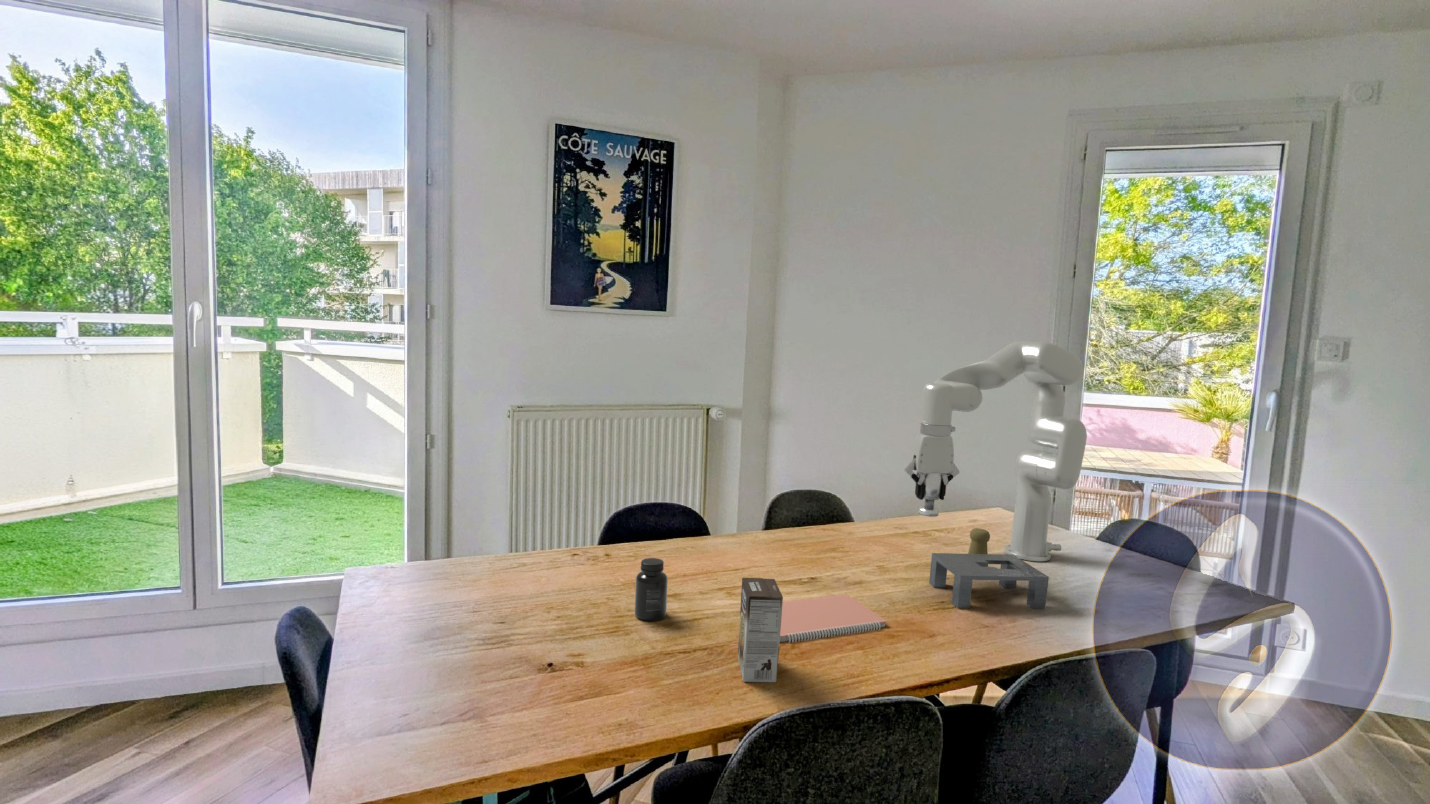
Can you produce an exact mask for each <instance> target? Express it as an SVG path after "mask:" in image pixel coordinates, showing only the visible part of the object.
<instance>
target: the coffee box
mask: <svg viewBox="0 0 1430 804" xmlns="http://www.w3.org/2000/svg"><path fill="white" fill-rule="evenodd" d="M783 602H784V597H783V595H782V591H781V590H780V588H779V586H778V583H777V581H776V579H775V578H764V577H763V578H762V577H742V578H741V595H740V609H739V610H740V611H739V614H740V615H739V627H738V629H739V630H738V646H737V647H738V648H737V662H738V665H739V670H740V674H741V678H742V682H744V683H745V682H746V683H776V682H777V679H778V668H779V667H778V666H779V665H778V664H779V653H780V643H781V642H780V631H781V618H782V604H783Z"/></svg>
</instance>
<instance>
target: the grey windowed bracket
mask: <svg viewBox="0 0 1430 804" xmlns="http://www.w3.org/2000/svg"><path fill="white" fill-rule="evenodd" d="M930 559H931V560H930V568H929V569H930V571H929V581H928V583H929V585H931V586H932V588H934V589H937V588H938V589H939V588H941V589H942V588H943V589H944V588H945V589H946V584H947V574H948V571H949V572H950V573H951V574H952V575H954V576H953V577H954V578H953V587H952V598H951V605H953V606H954V607H955V606H956V607H957V608H956V607H955V608H956V609H959V610H960V608H961V609H962V610H963V609H965V610H967V609H969V610H970V608H971V597H972V588H973V581H998V585H999V586H1001V587H1002V588H1004V589H1005V590H1007V589H1009V590H1010V589H1011V590H1012V589H1013V590H1016V589H1017V582H1018V581H1020V582H1021V581H1022V582H1023V581H1026V582H1027V581H1028V587H1027V593H1026V594H1027V595H1026V606H1028V607H1029V608H1031V609H1033V610H1046V604H1047V598H1048V596H1047V595H1048V589H1049V586H1048V585H1049V579H1050V578H1049V576H1048V575H1047V574H1045V573H1043V572H1042V571H1040V570H1038V569H1037V568H1035V567H1034V566H1032V565H1031V564H1028V563H1027V562H1026V561H1025V560H1023V559H1019V558H1018V557H1016V556H1014V555H1008V554H1007V553H1006V554H1005V553H1004V554H1003V553H1002V554H1000V553H997V554H995V553H988V554H968V553H954V552H953V553H949V552H947V553H946V552H944V553H943V552H941V553H940V552H938V553H937V552H932V553H931V558H930ZM989 565H1000V568H999V569H998V568H997V567H995V566H989ZM981 566H988V567H981Z"/></svg>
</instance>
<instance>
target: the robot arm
mask: <svg viewBox="0 0 1430 804" xmlns="http://www.w3.org/2000/svg"><path fill="white" fill-rule="evenodd" d="M1021 374H1023V376H1024V378H1025V379H1026V380H1027V381H1028V383H1029V385H1030V387H1031V390H1032V395H1033V396H1032V399H1033V400H1032V405H1031V410H1030V416H1029V421H1028V426H1027V439H1028V440H1029V441H1030V442H1031V443H1032V444H1034V445H1037V446H1041V447H1045V448H1050V449H1055V450H1057V452H1058V453H1054V452H1051V451H1046V450H1039V449H1032V448H1031V449H1026V450H1023V451H1021V452H1020V453H1019V454H1018V455H1017V456H1016V460H1015V474H1016V475H1015V476H1016V490H1015V491H1016V492H1015V501H1014V513H1013V519H1012V520H1013V521H1012V527H1011V528H1012V531H1011V539H1010V544H1008V545H1005V546H1004V552H1005V553H1006V554H1008V555H1014V556H1016V557H1018V558H1019V559H1021V560H1022V561H1029V562H1046V561H1048V562H1049V560H1051V557H1052V554H1051V553H1050V552H1052V551H1056V552H1057V551H1058V552H1059V551H1062V549H1063V547H1062V545H1061V544H1060V543H1052V542H1050V541H1049V542H1048V541H1047V540H1048V529H1049V522H1050V513H1051V512H1050V511H1051V505H1052V497H1051V493H1050V489H1049V487H1051V488H1056V489H1060V490H1070V489H1072V488H1074V487H1075V486H1076V484H1077V483H1078V481H1079V479H1080V475H1081V470H1082V465H1083V461H1084V455H1085V449H1086V447H1087V446H1086V444H1087V438H1088V436H1087V429H1086V428H1087V427H1086V426H1085V424H1084V423H1083V421H1081V420H1080V419H1077V418H1075V417H1069V416H1064V412H1065V405H1066V395H1065V391H1064V389H1063V387H1062V386H1073V385H1075V384H1077V383H1078V382H1079V381H1080V380H1081V379H1082V377H1083V374H1084V365H1083V362H1082V361H1081V359H1080V358H1079V357H1078V356H1077V355H1075V354H1074V353H1072V352H1070V351H1068V350H1066V349H1064V348H1062V347H1060V346H1058V345H1057V344H1054V343H1051V342H1048V341H1040V340H1039V341H1038V340H1037V341H1036V340H1016V341H1012V342H1011V343H1009V344H1008V345H1007V346H1004V348H1002V349H1000V350H999V351H997V352H995V353H994V354H992V355H990V356H989V357H987V358H986V359H985V360H982V361H977V362H974V363H971V364H968V365H965V366H961V367H958V368H955V369H952V370H950V371H949V372H947V373H945V374H943V375H942V376H941V377H939V378H938V379H936V380H935V381H934V382H928V383H926V384H925V385H924V387H923V392H922V393H923V394H922V403H921V405H922V407H921V415H920V416H921V419H920V431H919V433H917V434H916V436H915V439H914V442H913V448H912V452H911V459H910V463H909V464H908V465H907V466H906V467H905V468H904V472H905V473H906V474H907V475H908V476H909V477H910V478H911V479H912V480H913V481H914V482H915V490H914V493H915V497H916V498H917V499H919V500H920V501H923V500H924V498H923V497H924V485H923V480H924V478H925V475H926V474H928V473H941V474H942V479H941V491H940V499H939V500H941V501H944V500H945V497H946V491H947V486H948V485H949V482H951V481H952V480H953V479H954V478H955V477H956V476H957V475H959V474H960V470H959V468H958V467H957V465H956V464H955V462H954V460H955V459H954V458H955V453H954V439H953V436H951V435H952V433H955V432H956V427H955V426H953V425H952V418H953V417H952V416H953V412H956V411H957V412H963V413H970V412H973V411H975V410H977V409H978V408H980V406H981V404H982V401H983V393H982V391H983V390H992V389H997V388H998V389H999V388H1001V387H1005V385H1007V384H1008V383H1009V382H1011V381H1012V380H1014V379H1015V378H1017V377H1018V376H1020V375H1021ZM913 471H916V473H914V472H913Z"/></svg>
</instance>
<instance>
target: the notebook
mask: <svg viewBox="0 0 1430 804" xmlns="http://www.w3.org/2000/svg"><path fill="white" fill-rule="evenodd" d="M886 623H888V621H887V620H886V619H885V618H883V617H882V616H880V615H878V614H877V613H875V612H874V611H872V610H870V609H869V608H868V607H866V606H865V605H863V604H862V603H861V602H858V600H856V599H854V598H853V597H851V596H849V595H848V594H838V595H829V596H821V597H812V598H805V599H804V598H803V599H796V600H795V599H793V600H787V601H783V604H782V618H781V631H780V643H783V642H788V644H790V643H794V642H795V643H797V640H798V642H800V641H801V642H803V641H804V642H805V641H809V639H810V641H811V640H812V639H813V640H815V638H816V640H818V638H819V639H824V638H825V639H826V638H827V636H828V638H830V637H831V638H833V637H836V636H837V637H838V636H839V637H840V636H844V635H845V636H846V635H852V634H856V633H857V634H858V633H859V634H861V632H862V633H864V632H865V633H866V632H872V631H873V632H875V629H876V631H878V630H881V628H886ZM821 637H822V638H821Z"/></svg>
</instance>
